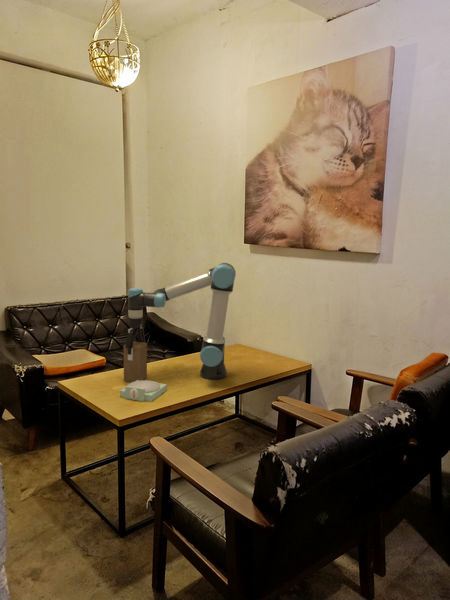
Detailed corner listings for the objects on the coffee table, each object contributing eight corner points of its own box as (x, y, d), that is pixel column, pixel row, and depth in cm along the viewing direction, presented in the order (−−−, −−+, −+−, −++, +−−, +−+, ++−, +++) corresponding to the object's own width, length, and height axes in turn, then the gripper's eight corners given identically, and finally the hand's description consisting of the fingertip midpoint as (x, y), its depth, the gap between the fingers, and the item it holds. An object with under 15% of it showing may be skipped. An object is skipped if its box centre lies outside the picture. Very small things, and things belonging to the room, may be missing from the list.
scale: (166, 390, 233) (166, 378, 232) (149, 402, 215) (149, 390, 214) (136, 385, 238) (136, 374, 237) (118, 397, 220) (118, 386, 219)
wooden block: (140, 383, 242) (140, 346, 239) (123, 381, 244) (122, 345, 241) (147, 377, 251) (147, 342, 248) (130, 375, 253) (130, 340, 250)
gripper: (139, 313, 254) (139, 351, 258) (118, 320, 233) (118, 362, 236) (151, 314, 252) (151, 352, 255) (131, 321, 230) (131, 363, 234)
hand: (135, 357), depth 246 cm, fingers closed on wooden block, 10 cm apart
